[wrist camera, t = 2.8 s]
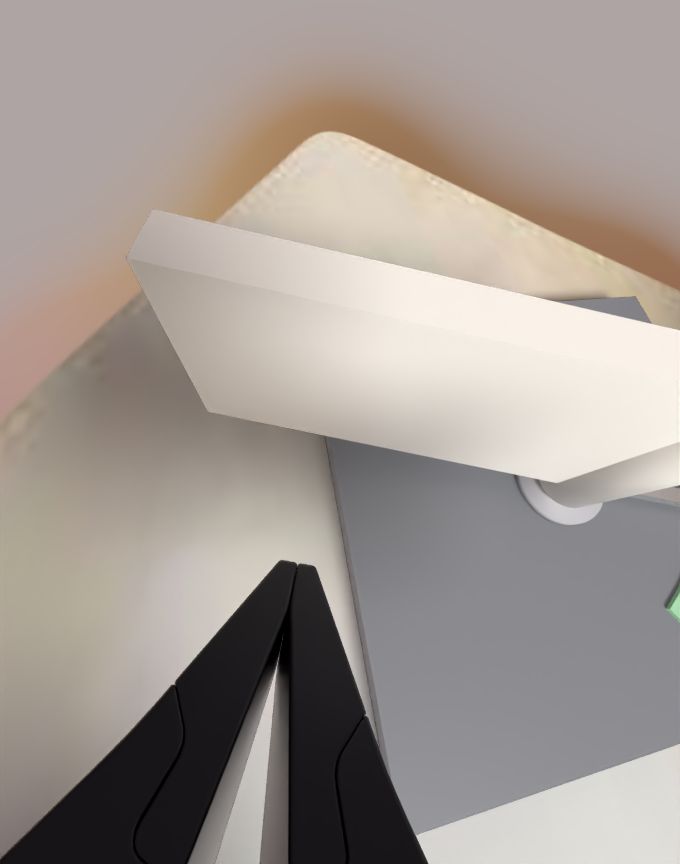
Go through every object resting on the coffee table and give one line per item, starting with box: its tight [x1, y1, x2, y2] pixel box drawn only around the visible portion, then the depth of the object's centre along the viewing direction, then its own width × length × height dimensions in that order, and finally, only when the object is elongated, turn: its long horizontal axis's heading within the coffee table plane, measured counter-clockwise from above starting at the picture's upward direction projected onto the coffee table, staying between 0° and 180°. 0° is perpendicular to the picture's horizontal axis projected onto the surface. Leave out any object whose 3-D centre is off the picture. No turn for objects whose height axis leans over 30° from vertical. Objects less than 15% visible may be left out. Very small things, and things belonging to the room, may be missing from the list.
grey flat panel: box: [325, 296, 680, 835], centre depth 18 cm, size 22×22×2 cm
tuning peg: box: [126, 209, 680, 508], centre depth 12 cm, size 28×3×10 cm, turn 80°
